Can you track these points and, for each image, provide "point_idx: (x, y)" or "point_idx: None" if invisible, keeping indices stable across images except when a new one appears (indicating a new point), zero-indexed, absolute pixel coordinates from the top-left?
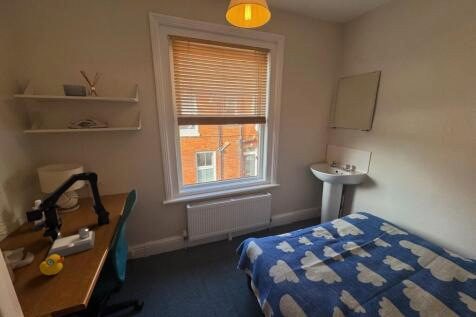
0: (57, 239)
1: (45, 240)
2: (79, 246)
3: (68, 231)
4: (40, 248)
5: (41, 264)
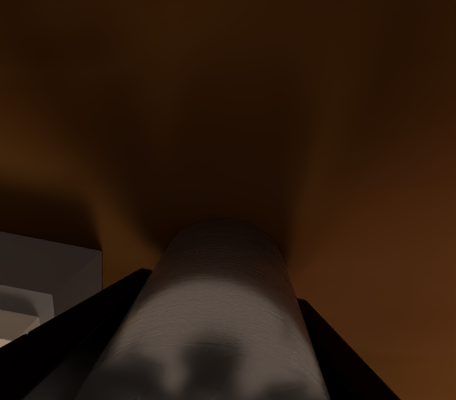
0: None
1: (357, 147)
2: None
3: None
4: (94, 79)
5: None
